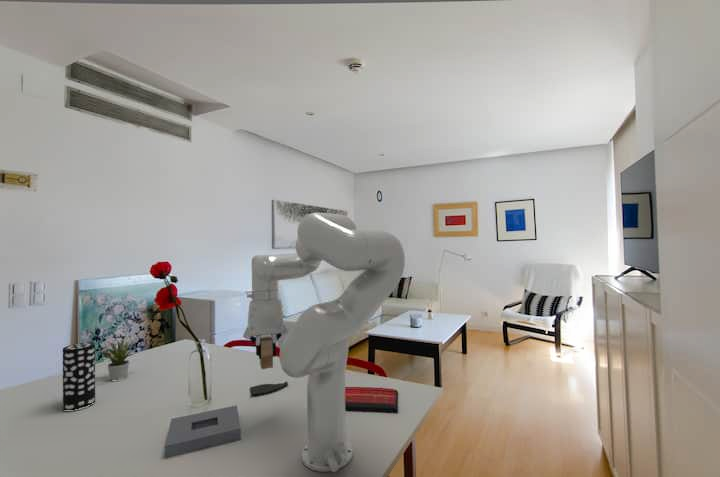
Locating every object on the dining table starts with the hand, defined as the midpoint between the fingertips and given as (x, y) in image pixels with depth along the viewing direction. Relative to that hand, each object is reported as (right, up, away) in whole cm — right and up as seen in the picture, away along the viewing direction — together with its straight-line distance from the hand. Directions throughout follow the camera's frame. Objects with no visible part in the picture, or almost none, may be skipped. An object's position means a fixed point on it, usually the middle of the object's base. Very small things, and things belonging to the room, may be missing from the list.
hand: (266, 356), depth 99 cm
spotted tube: (-66, -21, +11) cm, 70 cm away
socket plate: (-15, -19, -7) cm, 26 cm away
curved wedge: (-5, -20, +20) cm, 29 cm away
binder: (+31, -19, +11) cm, 38 cm away
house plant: (-69, -22, +35) cm, 81 cm away
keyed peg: (0, -3, 0) cm, 3 cm away
